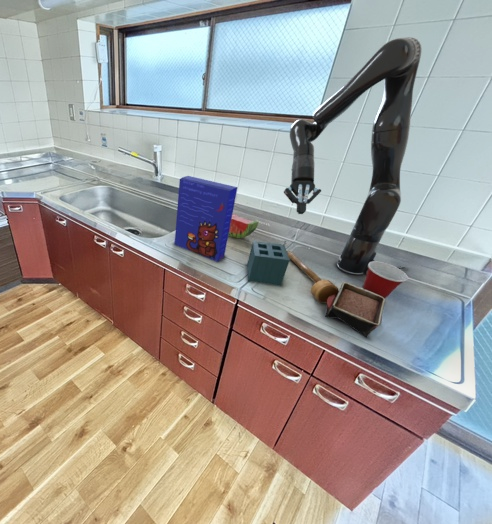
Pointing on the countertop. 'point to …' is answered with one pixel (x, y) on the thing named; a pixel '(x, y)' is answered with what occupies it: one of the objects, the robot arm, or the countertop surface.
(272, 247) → the holder
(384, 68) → the robot arm
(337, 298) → the baking dish
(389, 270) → the plastic cup
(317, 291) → the wooden mallet
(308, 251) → the countertop surface
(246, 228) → the fruit slice
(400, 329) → the countertop surface
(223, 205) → the cereal box
